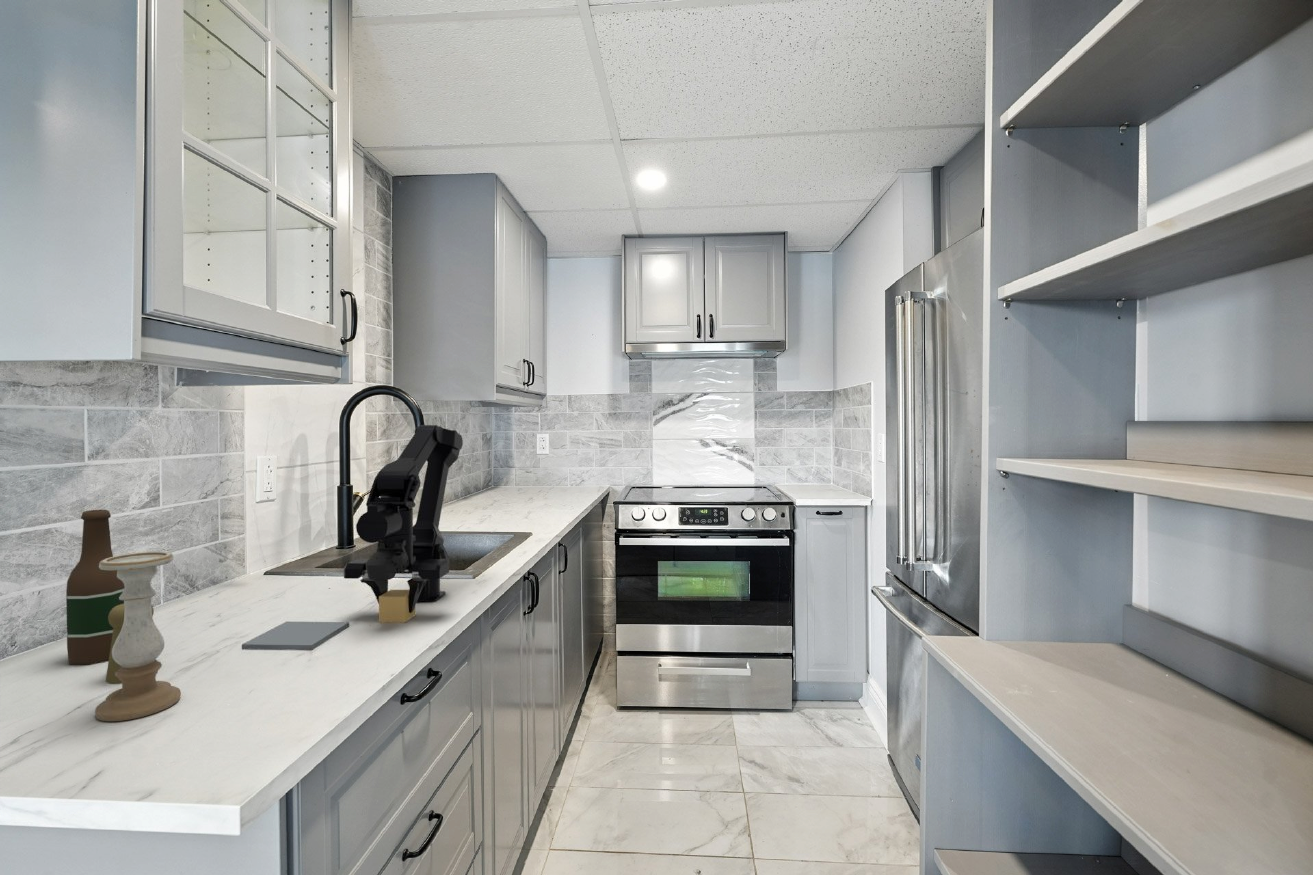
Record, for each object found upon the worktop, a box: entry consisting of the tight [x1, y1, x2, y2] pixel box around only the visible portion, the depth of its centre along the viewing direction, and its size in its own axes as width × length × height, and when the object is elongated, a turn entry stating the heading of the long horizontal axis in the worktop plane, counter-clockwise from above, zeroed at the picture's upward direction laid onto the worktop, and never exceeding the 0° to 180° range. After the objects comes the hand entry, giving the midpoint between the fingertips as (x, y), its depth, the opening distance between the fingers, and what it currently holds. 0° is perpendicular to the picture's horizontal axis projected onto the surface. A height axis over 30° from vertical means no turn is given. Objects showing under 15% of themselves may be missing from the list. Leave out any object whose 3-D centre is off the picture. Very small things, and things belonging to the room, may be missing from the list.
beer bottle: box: [65, 509, 125, 666], centre depth 99 cm, size 8×8×24 cm
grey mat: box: [241, 620, 350, 651], centre depth 109 cm, size 12×12×1 cm
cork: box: [105, 604, 155, 685], centre depth 92 cm, size 6×6×11 cm
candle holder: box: [94, 551, 182, 722], centre depth 82 cm, size 9×9×20 cm
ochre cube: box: [378, 589, 417, 624], centre depth 119 cm, size 5×5×5 cm
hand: (397, 611), depth 119 cm, fingers closed on ochre cube, 5 cm apart
